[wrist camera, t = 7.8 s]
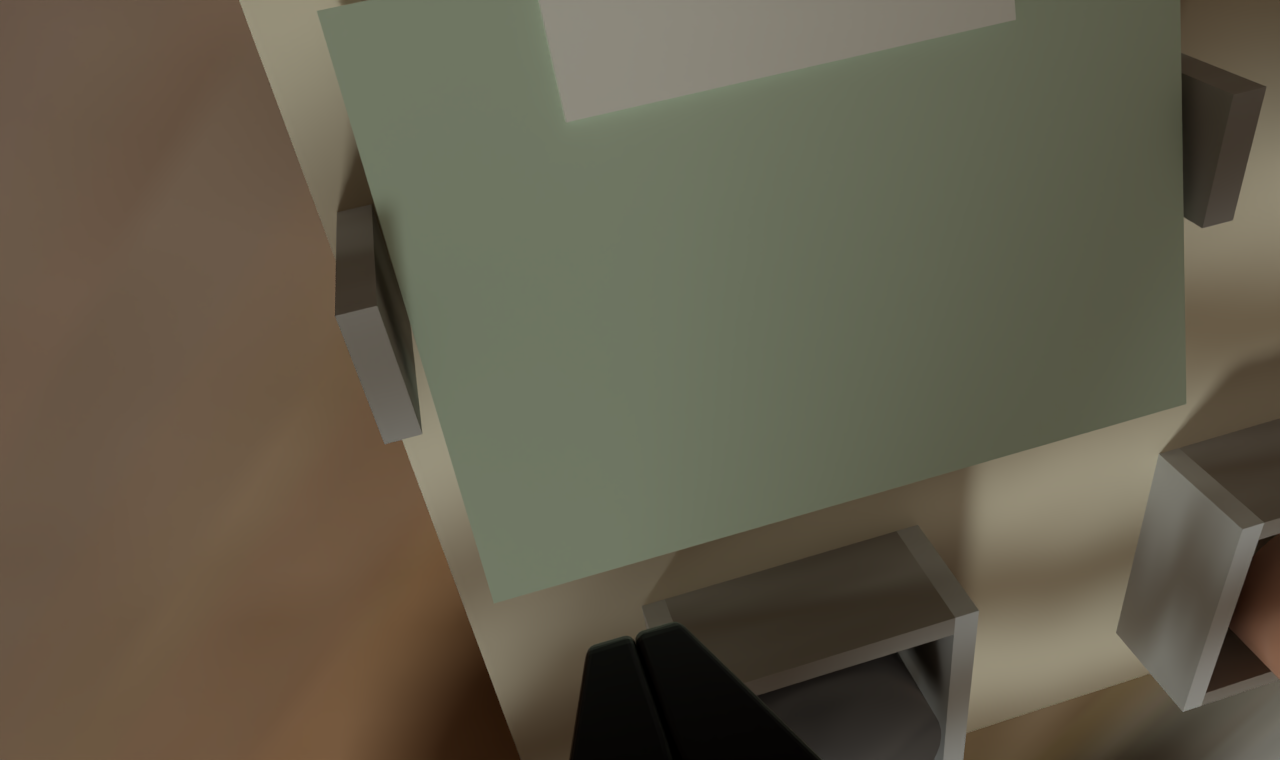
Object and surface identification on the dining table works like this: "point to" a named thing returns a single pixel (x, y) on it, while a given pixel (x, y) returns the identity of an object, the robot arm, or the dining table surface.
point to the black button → (861, 713)
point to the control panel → (921, 511)
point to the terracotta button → (1261, 606)
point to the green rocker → (764, 248)
